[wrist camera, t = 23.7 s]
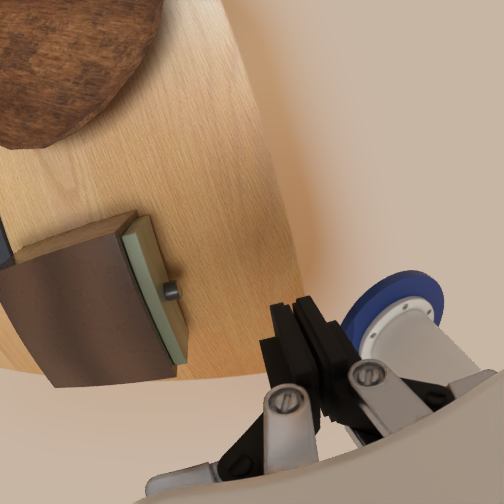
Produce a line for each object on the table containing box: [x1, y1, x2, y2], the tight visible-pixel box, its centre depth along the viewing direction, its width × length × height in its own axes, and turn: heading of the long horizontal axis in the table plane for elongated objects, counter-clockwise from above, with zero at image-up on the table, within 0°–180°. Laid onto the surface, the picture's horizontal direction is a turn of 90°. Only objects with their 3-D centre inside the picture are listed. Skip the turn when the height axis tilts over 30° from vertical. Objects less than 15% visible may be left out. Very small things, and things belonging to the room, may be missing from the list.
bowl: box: [0, 0, 164, 150], centre depth 14 cm, size 20×22×5 cm
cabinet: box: [0, 210, 177, 388], centre depth 22 cm, size 15×14×7 cm
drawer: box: [121, 215, 189, 365], centre depth 23 cm, size 15×12×5 cm
